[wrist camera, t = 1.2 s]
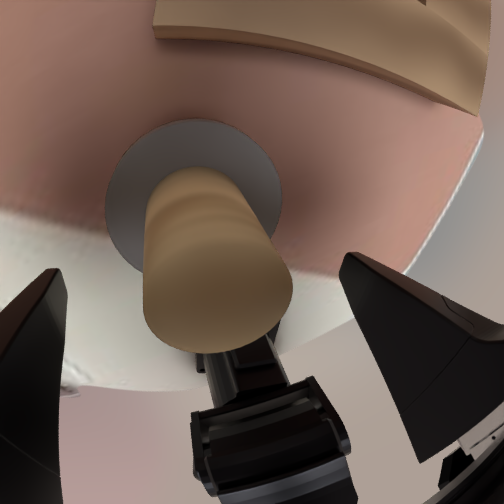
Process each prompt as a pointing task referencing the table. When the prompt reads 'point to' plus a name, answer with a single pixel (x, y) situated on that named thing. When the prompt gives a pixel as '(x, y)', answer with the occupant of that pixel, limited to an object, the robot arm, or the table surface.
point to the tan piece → (201, 234)
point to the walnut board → (355, 37)
